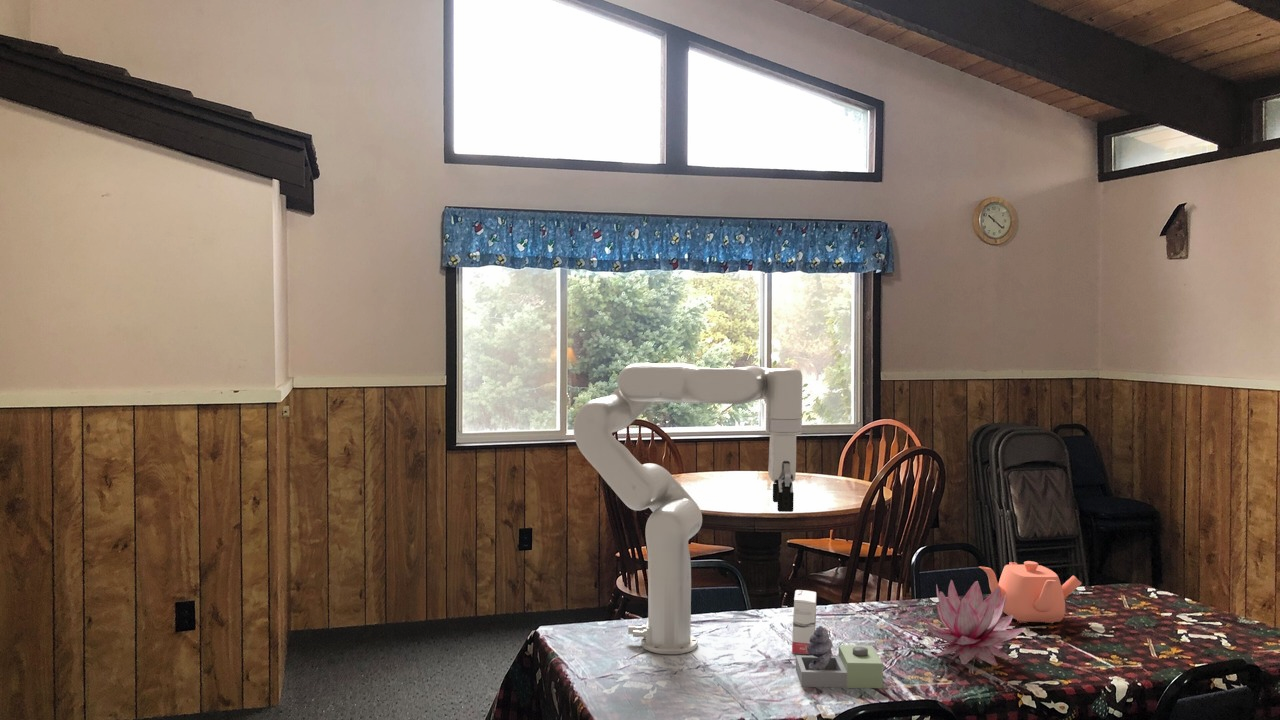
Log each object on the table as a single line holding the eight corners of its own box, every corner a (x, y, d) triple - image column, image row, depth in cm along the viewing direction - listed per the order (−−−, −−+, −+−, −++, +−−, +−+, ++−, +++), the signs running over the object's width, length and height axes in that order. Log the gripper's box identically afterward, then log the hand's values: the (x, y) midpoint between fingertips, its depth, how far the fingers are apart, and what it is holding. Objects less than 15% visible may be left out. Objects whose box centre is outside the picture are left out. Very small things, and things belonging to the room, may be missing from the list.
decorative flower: (946, 633, 216) (947, 569, 216) (1039, 657, 201) (1040, 589, 200) (899, 656, 201) (900, 588, 201) (995, 685, 186) (996, 610, 185)
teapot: (1053, 636, 215) (1055, 577, 214) (977, 617, 228) (978, 562, 227) (1083, 618, 228) (1084, 562, 227) (1008, 601, 241) (1010, 549, 240)
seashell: (803, 669, 192) (804, 622, 192) (829, 669, 193) (830, 621, 192) (810, 679, 187) (810, 630, 187) (836, 679, 187) (837, 630, 187)
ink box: (815, 655, 202) (815, 601, 201) (791, 653, 203) (792, 600, 202) (815, 642, 210) (816, 590, 210) (793, 640, 211) (793, 588, 211)
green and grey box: (801, 686, 185) (801, 657, 184) (795, 667, 195) (795, 639, 194) (882, 688, 184) (883, 658, 184) (872, 669, 194) (872, 640, 194)
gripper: (762, 421, 205) (761, 498, 206) (769, 431, 188) (768, 515, 189) (796, 422, 205) (795, 498, 206) (807, 431, 188) (806, 515, 188)
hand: (782, 506), depth 197 cm, fingers open, 9 cm apart
